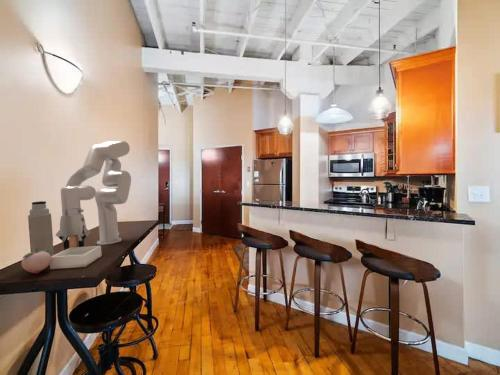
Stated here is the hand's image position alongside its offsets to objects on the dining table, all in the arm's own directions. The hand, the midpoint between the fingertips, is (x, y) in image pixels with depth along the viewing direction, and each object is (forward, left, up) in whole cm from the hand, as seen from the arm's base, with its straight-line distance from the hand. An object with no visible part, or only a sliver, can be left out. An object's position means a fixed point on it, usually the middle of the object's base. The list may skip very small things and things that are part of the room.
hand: (74, 248), depth 128 cm
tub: (+11, +7, -4) cm, 14 cm away
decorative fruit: (+23, -1, -4) cm, 23 cm away
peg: (0, 0, -4) cm, 4 cm away
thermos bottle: (+11, -7, -4) cm, 14 cm away
